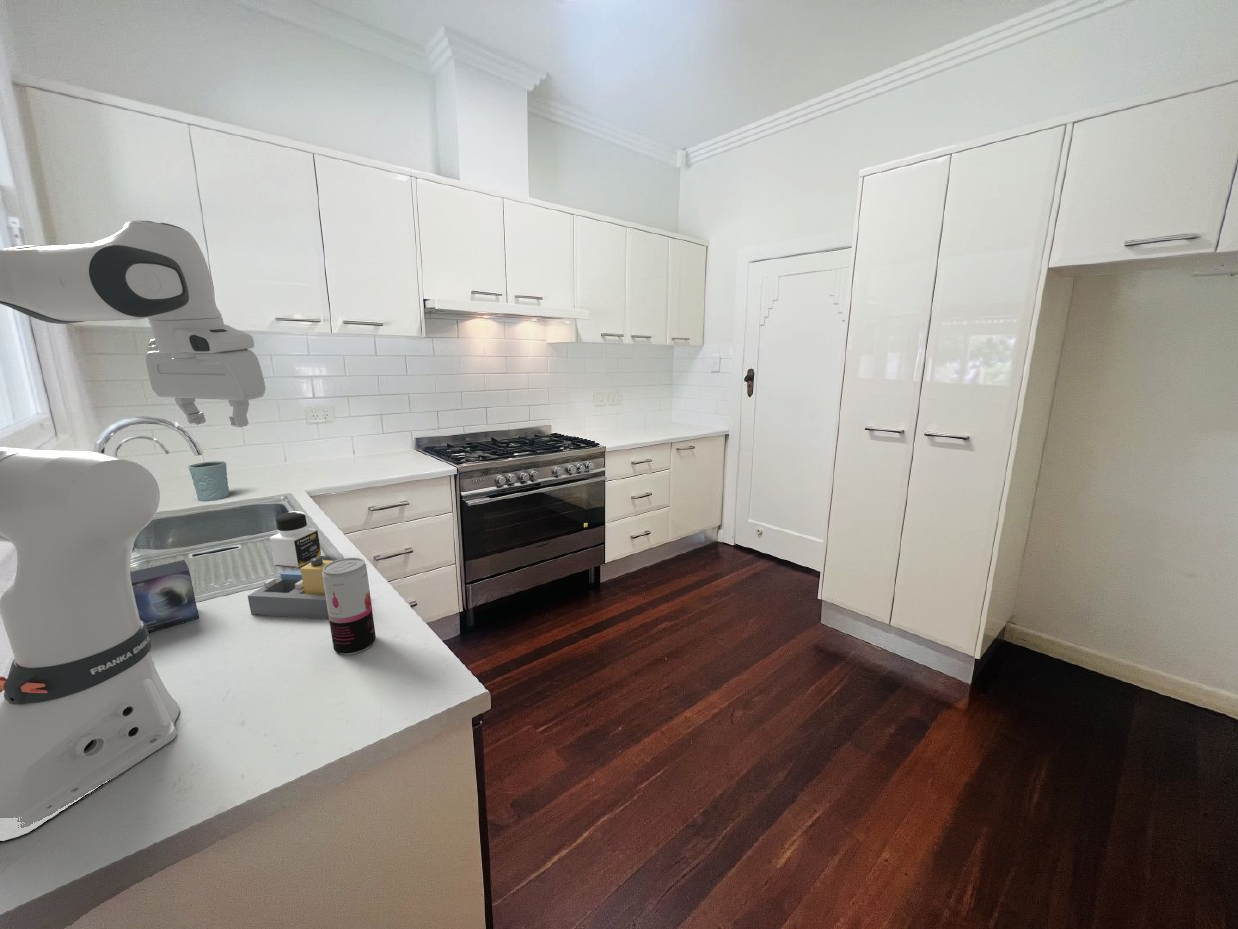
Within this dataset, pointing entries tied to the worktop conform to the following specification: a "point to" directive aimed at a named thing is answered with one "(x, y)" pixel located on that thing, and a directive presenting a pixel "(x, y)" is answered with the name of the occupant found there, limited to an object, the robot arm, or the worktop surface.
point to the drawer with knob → (314, 576)
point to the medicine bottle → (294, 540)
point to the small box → (164, 595)
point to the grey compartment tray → (287, 598)
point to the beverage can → (349, 605)
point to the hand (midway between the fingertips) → (218, 425)
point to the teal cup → (210, 480)
